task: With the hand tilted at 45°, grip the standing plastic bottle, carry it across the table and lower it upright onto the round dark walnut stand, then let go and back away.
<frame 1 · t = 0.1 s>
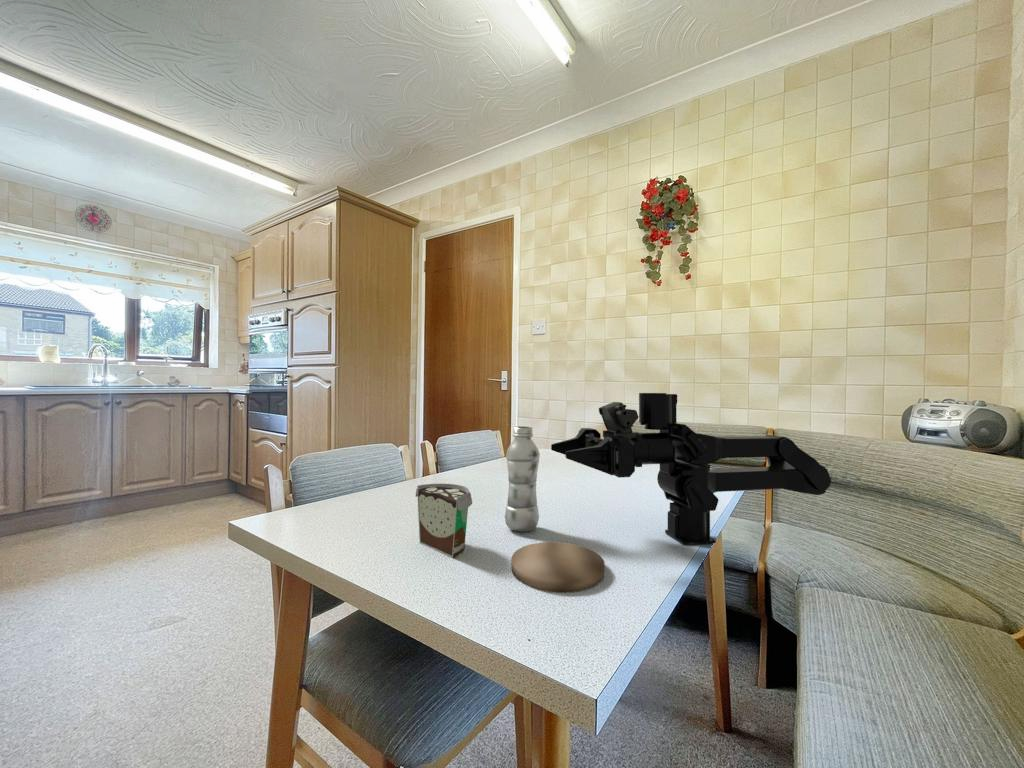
hand: (558, 450, 71), 17 cm above the table, tool horizontal, fingers open, 9 cm apart
plastic bottle: (521, 530, 78), on the table
food container: (449, 546, 70), on the table
walnut stand: (557, 569, 61), on the table
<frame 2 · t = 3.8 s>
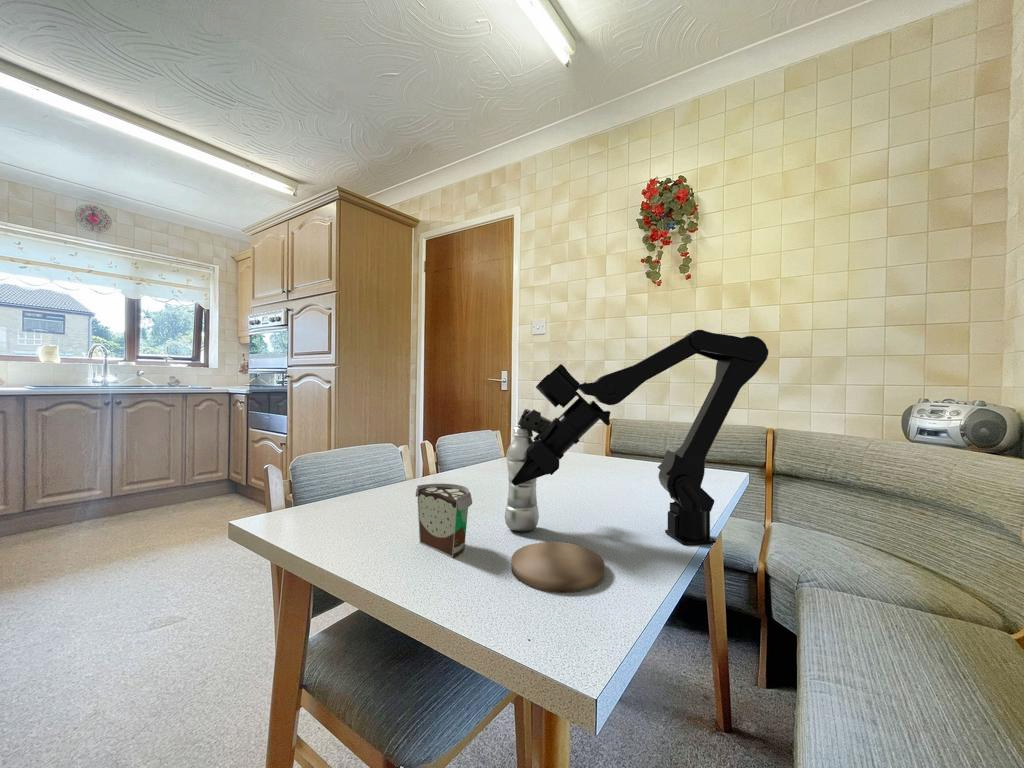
hand: (515, 480, 79), 10 cm above the table, tool tilted 45°, fingers closed on plastic bottle, 6 cm apart
plastic bottle: (521, 530, 78), on the table, touching gripper
everything else where it was.
when the fingers open (12 cm above the table, at t = 7.4 s): plastic bottle stays where it is, resting on walnut stand.
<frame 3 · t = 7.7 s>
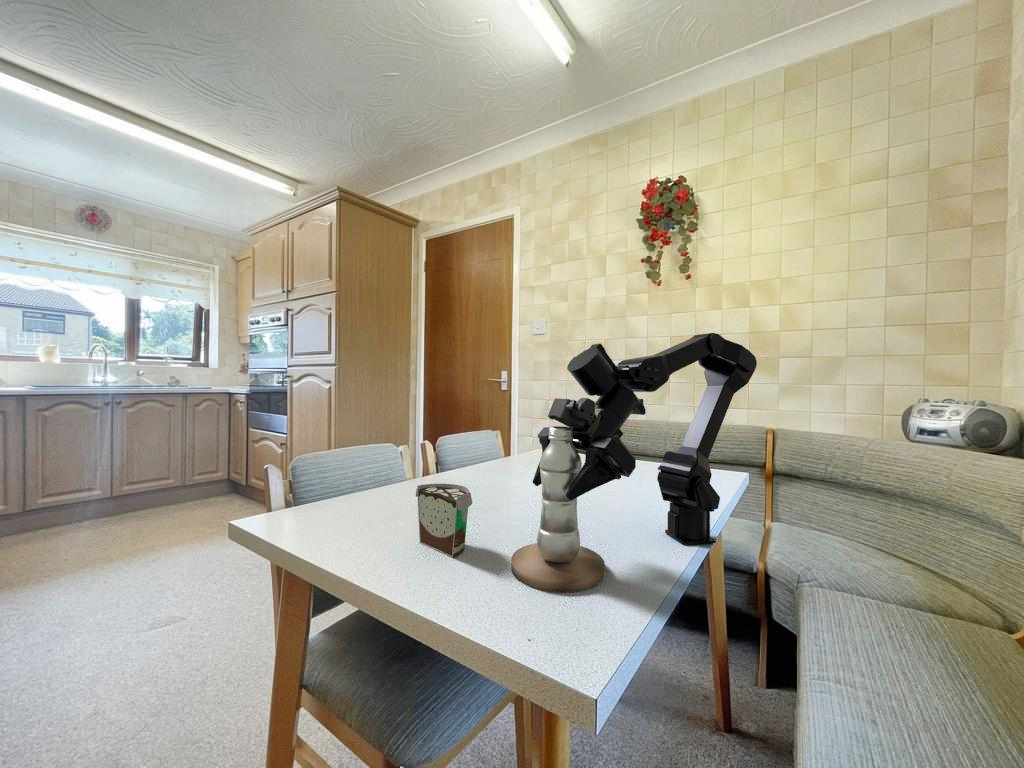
hand: (550, 490, 60), 12 cm above the table, tool tilted 45°, fingers open, 9 cm apart
plastic bottle: (558, 560, 61), point 1 cm above the table, touching walnut stand
everything else where it was.
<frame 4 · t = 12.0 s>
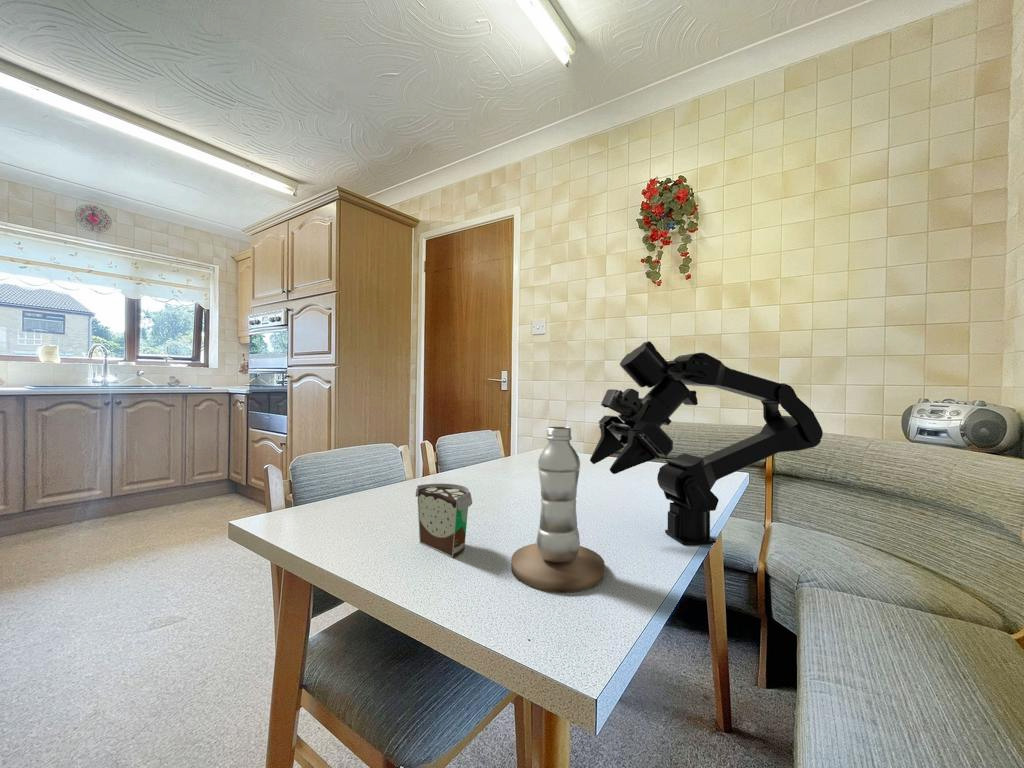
hand: (600, 466, 72), 14 cm above the table, tool tilted 45°, fingers open, 9 cm apart
nothing on the table moved.
at the end: plastic bottle inside the target area on the walnut stand (0.1 cm from its centre), point 1.3 cm above the walnut stand's base; plastic bottle tilted 0°; the gripper is holding nothing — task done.
